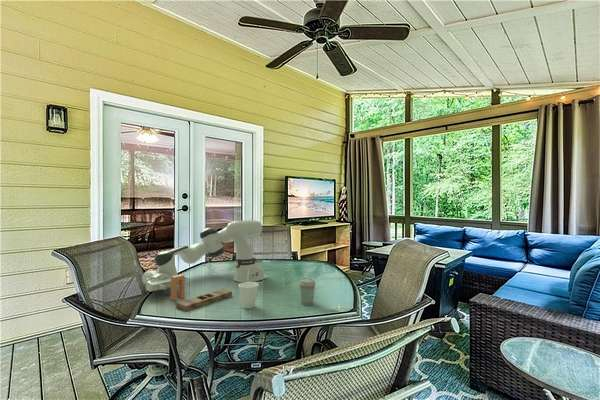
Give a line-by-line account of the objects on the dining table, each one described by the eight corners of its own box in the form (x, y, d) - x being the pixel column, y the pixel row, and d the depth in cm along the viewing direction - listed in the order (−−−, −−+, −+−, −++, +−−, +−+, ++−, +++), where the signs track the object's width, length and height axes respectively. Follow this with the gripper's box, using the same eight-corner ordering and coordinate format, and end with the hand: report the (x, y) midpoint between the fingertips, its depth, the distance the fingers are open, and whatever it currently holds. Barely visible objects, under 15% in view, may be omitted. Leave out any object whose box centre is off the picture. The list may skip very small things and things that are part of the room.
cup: (254, 311, 141) (254, 288, 141) (234, 309, 143) (235, 286, 143) (261, 304, 151) (261, 282, 150) (242, 302, 153) (243, 281, 152)
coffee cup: (310, 307, 146) (310, 283, 146) (295, 304, 150) (295, 280, 150) (318, 302, 153) (318, 279, 153) (304, 299, 158) (304, 277, 158)
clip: (180, 296, 162) (180, 274, 162) (184, 297, 160) (184, 275, 160) (170, 299, 157) (170, 276, 157) (174, 300, 155) (174, 277, 155)
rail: (222, 293, 167) (222, 288, 167) (231, 296, 162) (231, 291, 162) (176, 307, 145) (176, 302, 145) (185, 311, 140) (185, 306, 140)
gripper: (178, 282, 176) (192, 287, 168) (143, 291, 160) (156, 296, 151) (178, 272, 176) (192, 275, 168) (143, 279, 160) (156, 283, 151)
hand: (174, 285), depth 159 cm, fingers open, 8 cm apart
